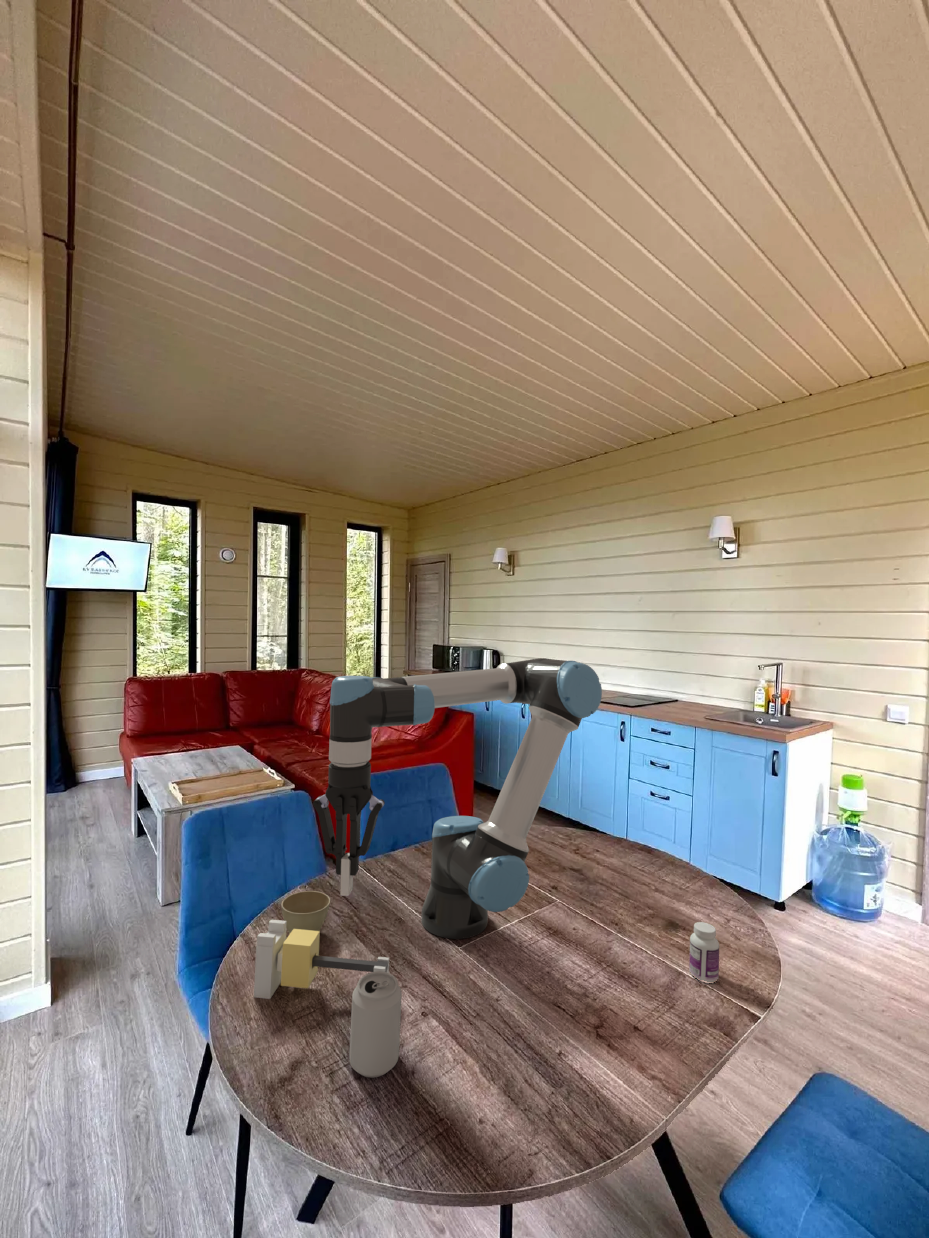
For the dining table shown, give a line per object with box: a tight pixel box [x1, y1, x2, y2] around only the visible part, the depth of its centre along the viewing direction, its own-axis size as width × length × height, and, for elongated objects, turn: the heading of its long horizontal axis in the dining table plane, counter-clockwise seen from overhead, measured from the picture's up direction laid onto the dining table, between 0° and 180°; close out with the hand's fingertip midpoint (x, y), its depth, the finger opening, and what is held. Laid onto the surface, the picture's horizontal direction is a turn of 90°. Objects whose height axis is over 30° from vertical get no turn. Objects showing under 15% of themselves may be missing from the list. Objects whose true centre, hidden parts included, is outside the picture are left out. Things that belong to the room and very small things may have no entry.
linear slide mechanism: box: [253, 919, 390, 1000], centre depth 98 cm, size 23×6×11 cm, turn 85°
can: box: [348, 971, 403, 1078], centre depth 83 cm, size 8×8×12 cm
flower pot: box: [281, 890, 331, 934], centre depth 116 cm, size 10×10×7 cm
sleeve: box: [280, 929, 321, 989], centre depth 99 cm, size 5×5×7 cm
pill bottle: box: [688, 921, 720, 982], centre depth 108 cm, size 5×5×10 cm
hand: (346, 891), depth 99 cm, fingers closed
